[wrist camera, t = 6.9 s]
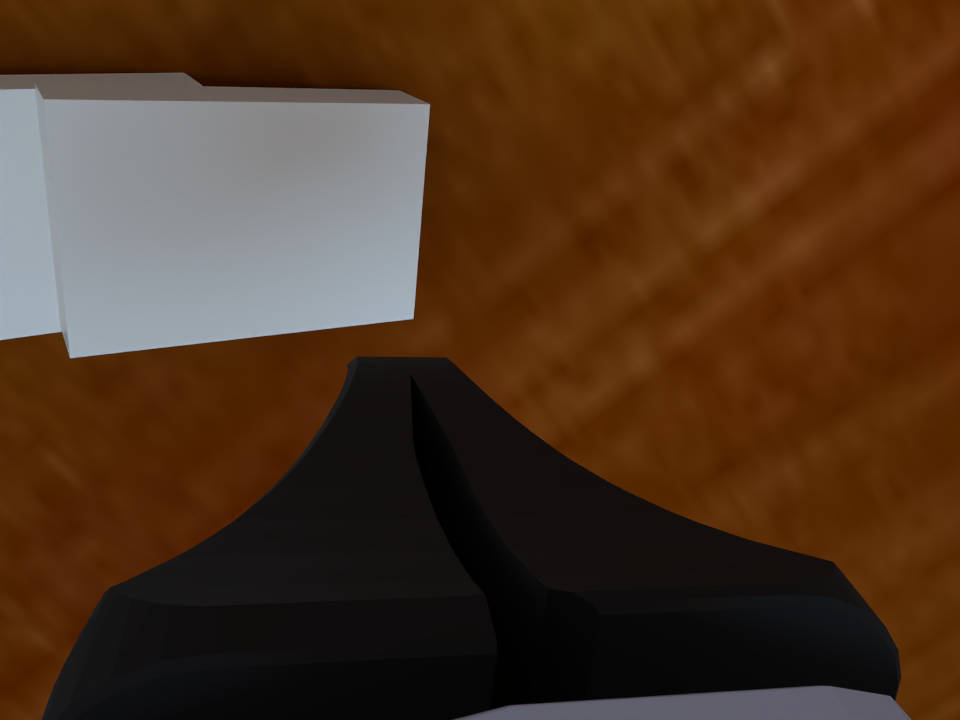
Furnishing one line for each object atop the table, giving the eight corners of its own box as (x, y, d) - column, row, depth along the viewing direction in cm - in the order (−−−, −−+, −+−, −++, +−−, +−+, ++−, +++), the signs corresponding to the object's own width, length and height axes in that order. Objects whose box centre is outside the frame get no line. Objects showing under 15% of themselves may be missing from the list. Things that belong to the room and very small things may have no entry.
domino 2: (386, 294, 22) (60, 326, 19) (399, 90, 20) (34, 82, 17) (413, 318, 21) (69, 358, 18) (430, 104, 19) (42, 98, 16)
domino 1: (200, 285, 22) (-174, 331, 18) (183, 72, 19) (-244, 77, 16) (217, 310, 20) (-180, 364, 17) (202, 85, 18) (-258, 94, 15)
